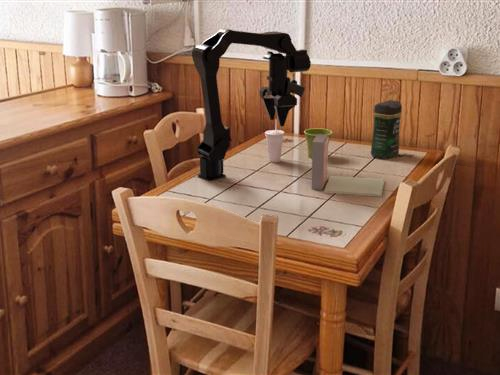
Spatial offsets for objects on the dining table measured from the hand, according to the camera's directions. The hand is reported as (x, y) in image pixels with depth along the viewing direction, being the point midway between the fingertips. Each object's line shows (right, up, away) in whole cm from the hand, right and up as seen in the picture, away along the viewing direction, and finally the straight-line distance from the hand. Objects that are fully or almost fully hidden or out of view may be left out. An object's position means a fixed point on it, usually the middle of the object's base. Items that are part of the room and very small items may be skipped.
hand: (277, 123), depth 215 cm
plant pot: (+14, -10, +13) cm, 22 cm away
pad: (+22, -20, -17) cm, 34 cm away
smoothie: (0, -12, +9) cm, 15 cm away
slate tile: (+12, -19, -15) cm, 27 cm away
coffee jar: (+37, -10, +14) cm, 41 cm away
